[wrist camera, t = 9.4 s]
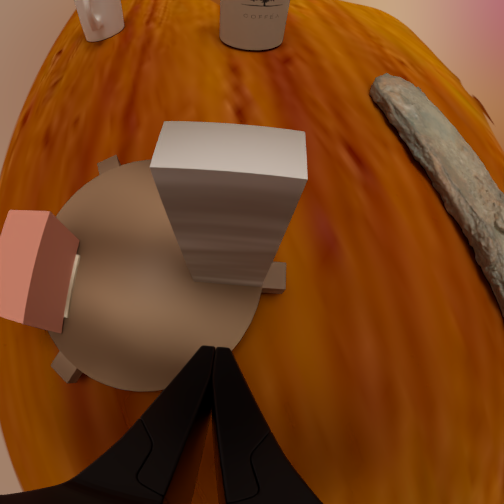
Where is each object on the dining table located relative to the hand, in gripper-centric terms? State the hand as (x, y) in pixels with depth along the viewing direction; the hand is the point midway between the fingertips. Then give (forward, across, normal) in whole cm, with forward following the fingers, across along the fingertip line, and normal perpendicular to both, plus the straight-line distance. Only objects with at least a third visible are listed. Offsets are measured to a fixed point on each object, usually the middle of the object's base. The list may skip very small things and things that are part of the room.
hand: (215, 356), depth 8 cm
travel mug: (+32, 0, -18) cm, 37 cm away
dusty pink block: (+7, +12, +3) cm, 14 cm away
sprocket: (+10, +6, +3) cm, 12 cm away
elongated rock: (+17, -23, -3) cm, 29 cm away
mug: (+34, +22, -20) cm, 46 cm away
